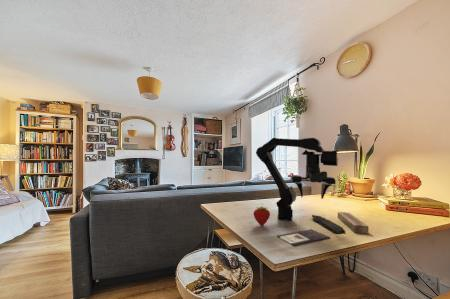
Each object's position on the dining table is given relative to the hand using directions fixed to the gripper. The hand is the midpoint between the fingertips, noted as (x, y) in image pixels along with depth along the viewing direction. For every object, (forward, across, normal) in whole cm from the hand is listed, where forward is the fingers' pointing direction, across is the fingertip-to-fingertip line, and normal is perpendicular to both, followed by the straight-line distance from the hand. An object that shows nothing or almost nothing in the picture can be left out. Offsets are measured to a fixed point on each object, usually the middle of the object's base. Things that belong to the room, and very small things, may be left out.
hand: (311, 198), depth 96 cm
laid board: (+12, +18, +2) cm, 22 cm away
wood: (+12, +7, 0) cm, 14 cm away
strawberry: (+12, -23, -8) cm, 27 cm away
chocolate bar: (+13, -7, -18) cm, 23 cm away
